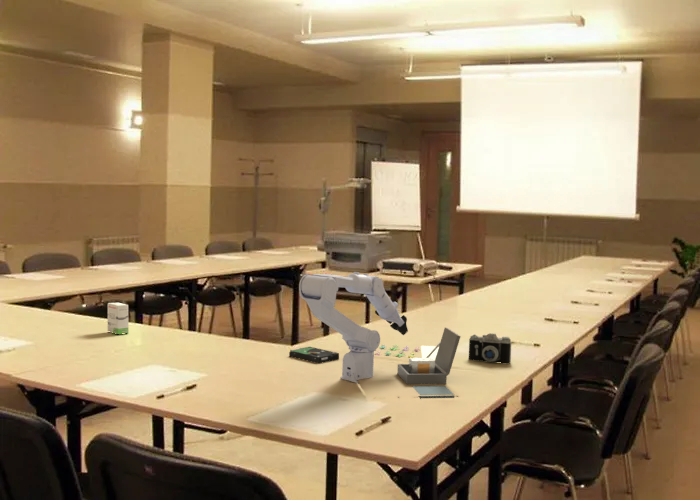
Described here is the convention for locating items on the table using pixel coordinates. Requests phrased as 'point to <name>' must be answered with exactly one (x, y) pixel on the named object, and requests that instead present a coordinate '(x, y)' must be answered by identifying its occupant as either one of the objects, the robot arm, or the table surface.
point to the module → (421, 366)
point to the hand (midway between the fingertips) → (398, 327)
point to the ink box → (118, 318)
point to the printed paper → (424, 349)
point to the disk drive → (314, 354)
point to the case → (441, 362)
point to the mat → (433, 391)
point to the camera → (490, 348)
